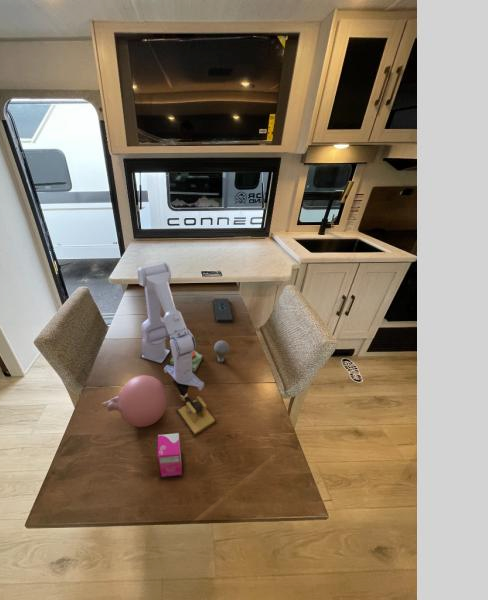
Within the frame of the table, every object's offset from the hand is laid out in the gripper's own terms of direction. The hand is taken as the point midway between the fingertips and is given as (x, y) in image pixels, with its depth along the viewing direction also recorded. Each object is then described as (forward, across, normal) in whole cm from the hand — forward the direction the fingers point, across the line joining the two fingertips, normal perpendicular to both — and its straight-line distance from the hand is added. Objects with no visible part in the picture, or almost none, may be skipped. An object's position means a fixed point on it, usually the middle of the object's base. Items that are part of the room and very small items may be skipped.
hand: (183, 393), depth 91 cm
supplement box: (+4, -9, +20) cm, 22 cm away
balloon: (+4, +10, +13) cm, 17 cm away
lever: (+2, -4, +2) cm, 5 cm away
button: (0, +8, -17) cm, 18 cm away
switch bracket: (+4, -7, +3) cm, 9 cm away
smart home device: (+4, +14, -58) cm, 59 cm away
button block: (+4, +10, -16) cm, 19 cm away
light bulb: (+4, -2, -24) cm, 25 cm away
